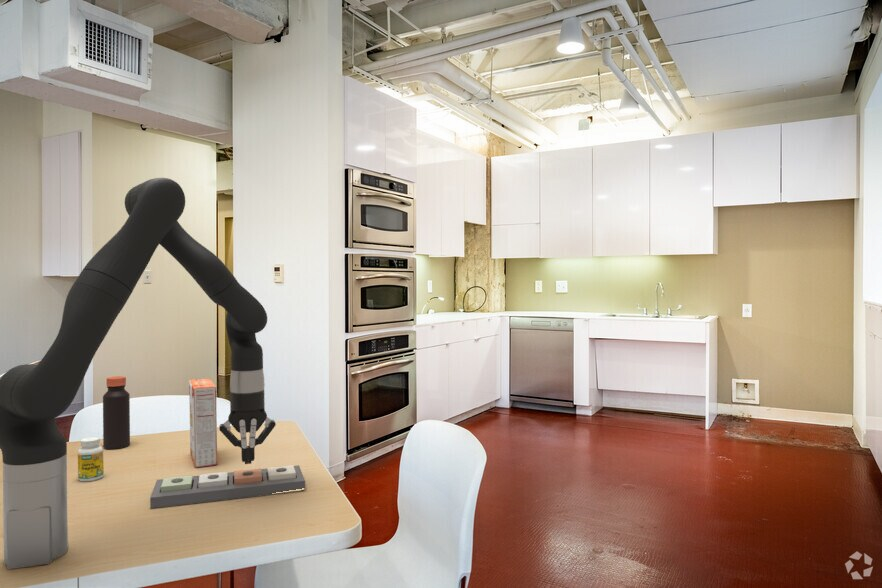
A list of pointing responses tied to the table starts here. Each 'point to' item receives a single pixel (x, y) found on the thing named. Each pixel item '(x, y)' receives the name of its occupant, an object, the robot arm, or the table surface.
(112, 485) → the table surface
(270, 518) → the table surface
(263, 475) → the grey flat board
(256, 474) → the key terracotta
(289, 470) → the key cream
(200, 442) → the cracker box
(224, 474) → the key white
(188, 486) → the key sage
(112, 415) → the vinegar
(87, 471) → the supplement bottle
